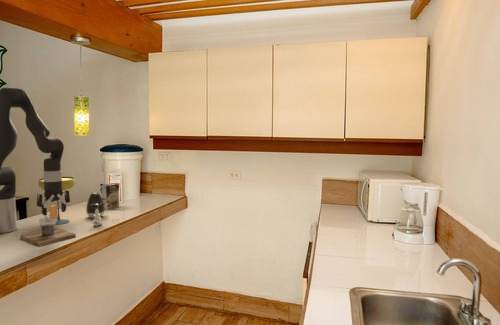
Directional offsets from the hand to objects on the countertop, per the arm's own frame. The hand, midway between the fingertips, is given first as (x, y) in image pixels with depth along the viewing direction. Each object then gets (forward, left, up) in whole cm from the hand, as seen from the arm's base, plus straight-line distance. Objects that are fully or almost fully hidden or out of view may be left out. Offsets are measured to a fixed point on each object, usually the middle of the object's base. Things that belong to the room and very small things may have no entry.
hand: (54, 213), depth 167 cm
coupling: (-4, 0, -7) cm, 8 cm away
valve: (-8, +27, -14) cm, 31 cm away
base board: (-7, 0, -13) cm, 15 cm away
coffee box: (-37, +55, -14) cm, 68 cm away
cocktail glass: (-30, +17, -14) cm, 37 cm away
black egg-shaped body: (-24, +36, -14) cm, 45 cm away
